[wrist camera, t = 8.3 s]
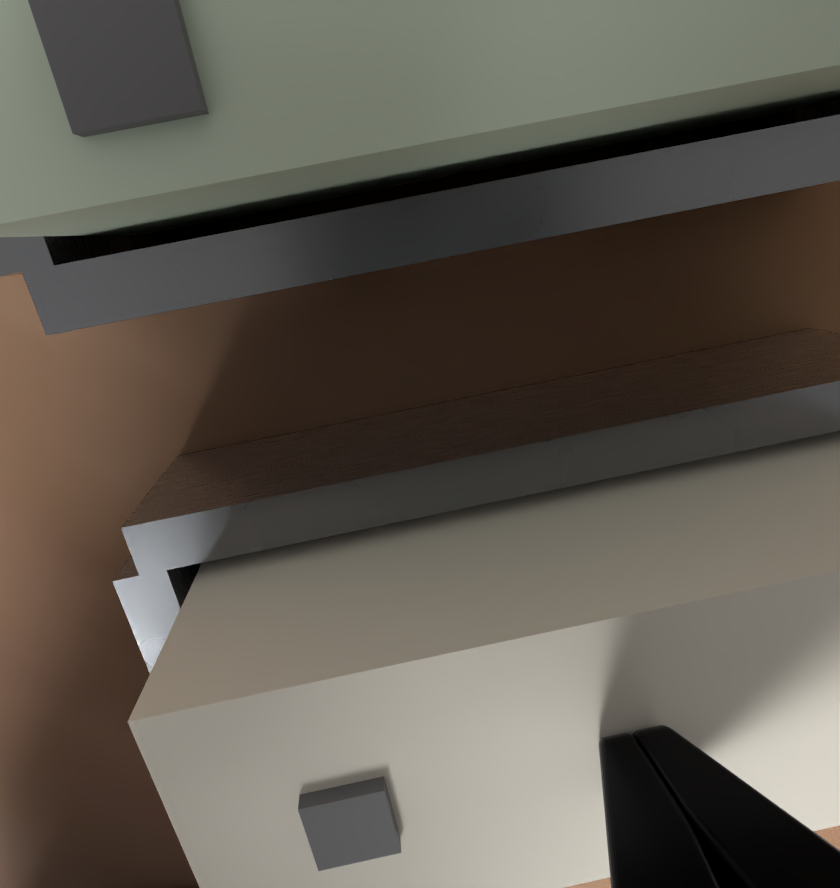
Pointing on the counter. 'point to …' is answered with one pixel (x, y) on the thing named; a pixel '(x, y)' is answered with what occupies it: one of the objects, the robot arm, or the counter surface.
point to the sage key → (360, 94)
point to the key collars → (459, 421)
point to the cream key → (500, 676)
